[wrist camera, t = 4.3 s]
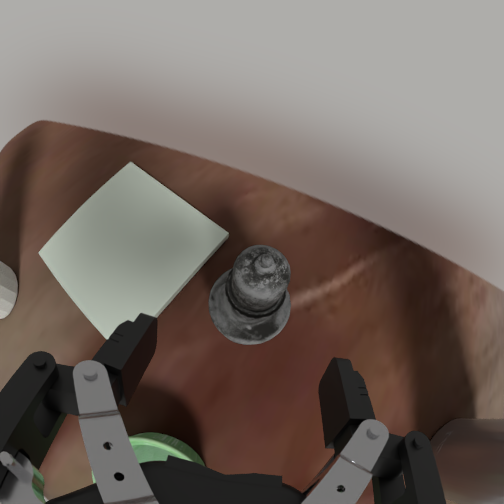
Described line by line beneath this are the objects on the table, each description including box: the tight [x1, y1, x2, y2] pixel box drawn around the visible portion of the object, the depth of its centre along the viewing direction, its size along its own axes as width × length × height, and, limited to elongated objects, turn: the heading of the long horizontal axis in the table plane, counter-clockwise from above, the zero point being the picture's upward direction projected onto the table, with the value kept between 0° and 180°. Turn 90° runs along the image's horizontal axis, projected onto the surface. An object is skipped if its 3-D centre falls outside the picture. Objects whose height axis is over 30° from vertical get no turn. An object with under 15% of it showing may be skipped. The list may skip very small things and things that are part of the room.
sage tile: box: [39, 162, 229, 339], centre depth 24 cm, size 14×14×1 cm
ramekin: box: [92, 432, 205, 483], centre depth 15 cm, size 9×9×4 cm
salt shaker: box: [209, 245, 291, 345], centre depth 18 cm, size 6×6×12 cm
